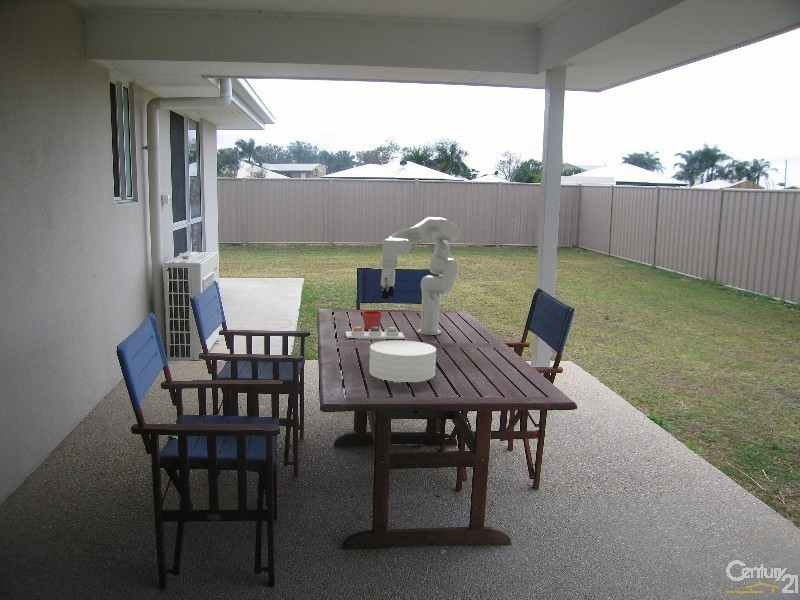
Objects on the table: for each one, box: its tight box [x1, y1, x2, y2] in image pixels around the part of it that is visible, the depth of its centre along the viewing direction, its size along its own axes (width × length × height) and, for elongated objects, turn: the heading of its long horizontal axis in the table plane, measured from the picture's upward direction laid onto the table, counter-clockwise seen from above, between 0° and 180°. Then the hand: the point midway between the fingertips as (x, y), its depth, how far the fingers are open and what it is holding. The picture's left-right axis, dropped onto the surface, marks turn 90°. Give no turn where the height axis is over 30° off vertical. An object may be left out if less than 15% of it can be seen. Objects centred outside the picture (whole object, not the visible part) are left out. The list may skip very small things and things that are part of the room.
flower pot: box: [362, 310, 383, 331], centre depth 384 cm, size 11×11×10 cm
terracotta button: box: [353, 325, 363, 331], centre depth 365 cm, size 4×4×2 cm
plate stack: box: [368, 339, 437, 384], centre depth 296 cm, size 28×28×12 cm
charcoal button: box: [371, 326, 380, 331], centre depth 366 cm, size 4×4×2 cm
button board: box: [345, 328, 406, 340], centre depth 366 cm, size 12×30×4 cm, turn 97°
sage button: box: [387, 326, 397, 332], centre depth 367 cm, size 4×4×2 cm
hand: (387, 297), depth 352 cm, fingers open, 9 cm apart
